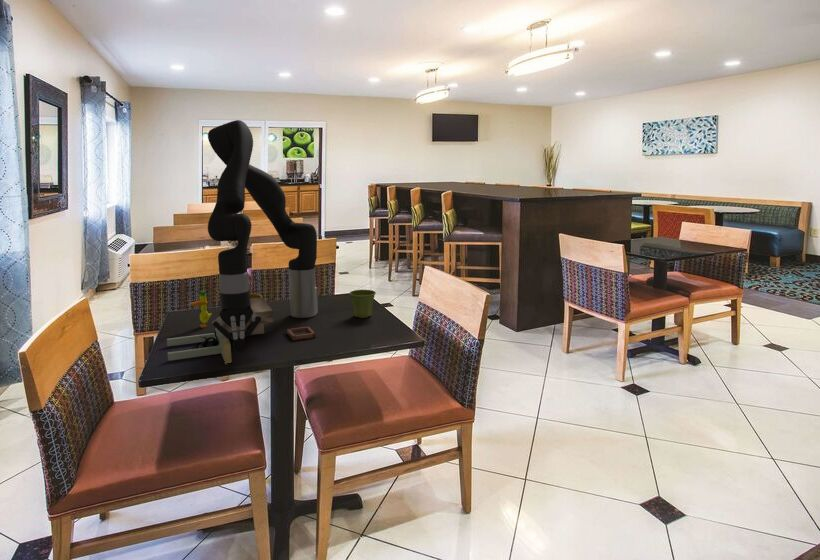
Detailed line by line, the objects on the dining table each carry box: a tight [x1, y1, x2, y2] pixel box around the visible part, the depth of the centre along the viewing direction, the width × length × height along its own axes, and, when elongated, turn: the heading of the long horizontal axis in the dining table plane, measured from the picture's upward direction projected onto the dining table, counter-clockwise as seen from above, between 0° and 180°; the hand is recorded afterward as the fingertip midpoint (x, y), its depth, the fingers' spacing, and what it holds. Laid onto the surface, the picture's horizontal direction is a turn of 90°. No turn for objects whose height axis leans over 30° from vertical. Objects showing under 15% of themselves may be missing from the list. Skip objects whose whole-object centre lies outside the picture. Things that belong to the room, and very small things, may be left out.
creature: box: [191, 331, 219, 349], centre depth 143 cm, size 8×5×8 cm
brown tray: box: [286, 326, 316, 341], centre depth 157 cm, size 7×8×1 cm
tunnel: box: [222, 297, 274, 336], centre depth 149 cm, size 12×17×12 cm
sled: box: [166, 327, 233, 365], centre depth 139 cm, size 15×24×6 cm, turn 26°
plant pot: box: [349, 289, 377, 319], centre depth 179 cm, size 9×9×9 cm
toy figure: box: [189, 291, 213, 329], centre depth 165 cm, size 7×4×12 cm, turn 126°
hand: (239, 351), depth 136 cm, fingers closed
